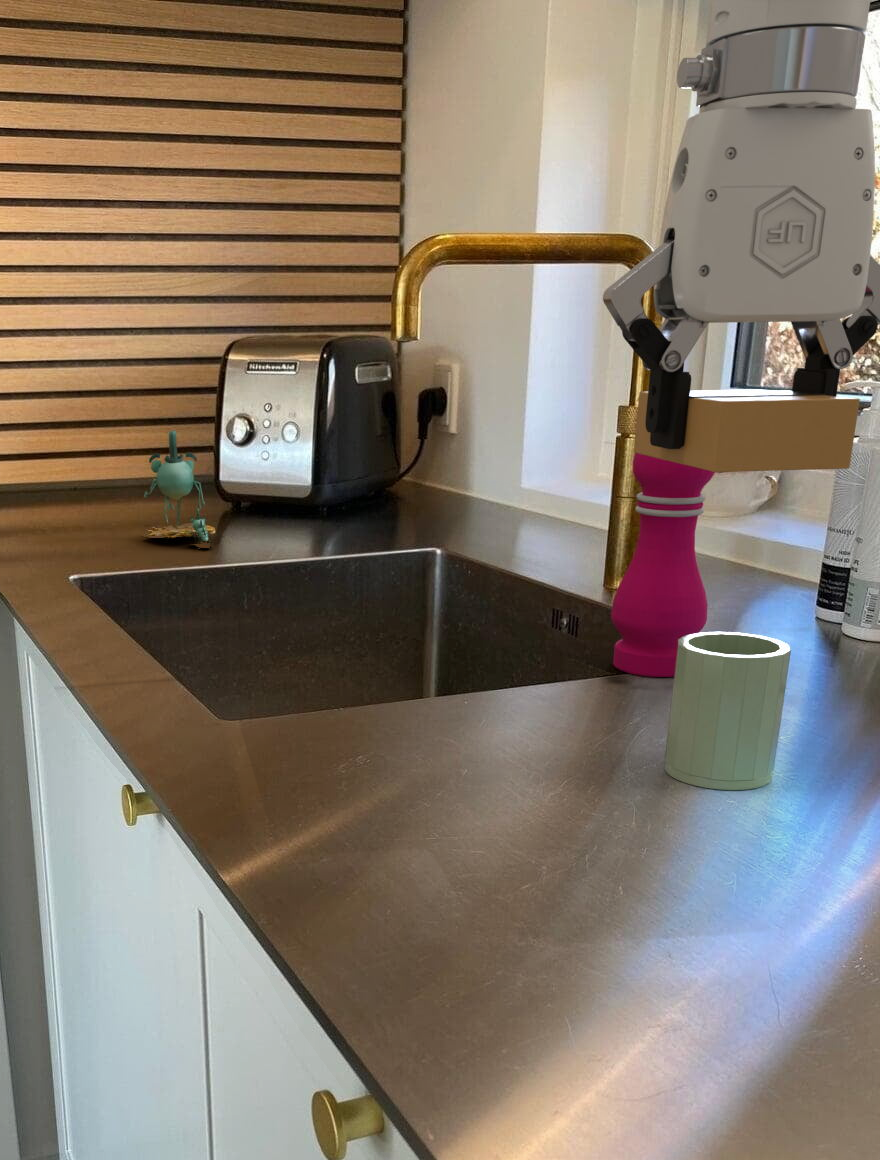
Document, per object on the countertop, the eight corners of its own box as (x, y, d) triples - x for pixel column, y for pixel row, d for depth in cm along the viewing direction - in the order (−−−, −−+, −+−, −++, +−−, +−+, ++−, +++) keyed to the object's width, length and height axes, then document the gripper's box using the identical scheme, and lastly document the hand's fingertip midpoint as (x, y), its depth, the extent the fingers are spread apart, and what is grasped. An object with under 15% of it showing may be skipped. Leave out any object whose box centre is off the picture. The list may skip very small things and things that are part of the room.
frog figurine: (151, 554, 149) (141, 428, 145) (135, 547, 166) (125, 434, 162) (228, 549, 151) (220, 425, 147) (204, 543, 168) (197, 431, 164)
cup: (741, 753, 77) (758, 630, 74) (791, 787, 71) (811, 655, 69) (648, 758, 77) (661, 634, 74) (690, 792, 71) (706, 659, 68)
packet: (633, 452, 73) (638, 390, 72) (750, 449, 74) (758, 388, 73) (714, 472, 63) (722, 399, 62) (850, 468, 64) (861, 397, 62)
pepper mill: (660, 652, 101) (686, 400, 94) (720, 673, 95) (753, 405, 88) (588, 661, 99) (609, 403, 92) (645, 683, 92) (673, 408, 85)
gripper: (642, 68, 57) (610, 455, 64) (986, 71, 59) (922, 447, 65) (587, 97, 64) (563, 443, 71) (896, 99, 66) (846, 436, 72)
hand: (736, 443), depth 68 cm, fingers closed on packet, 7 cm apart
